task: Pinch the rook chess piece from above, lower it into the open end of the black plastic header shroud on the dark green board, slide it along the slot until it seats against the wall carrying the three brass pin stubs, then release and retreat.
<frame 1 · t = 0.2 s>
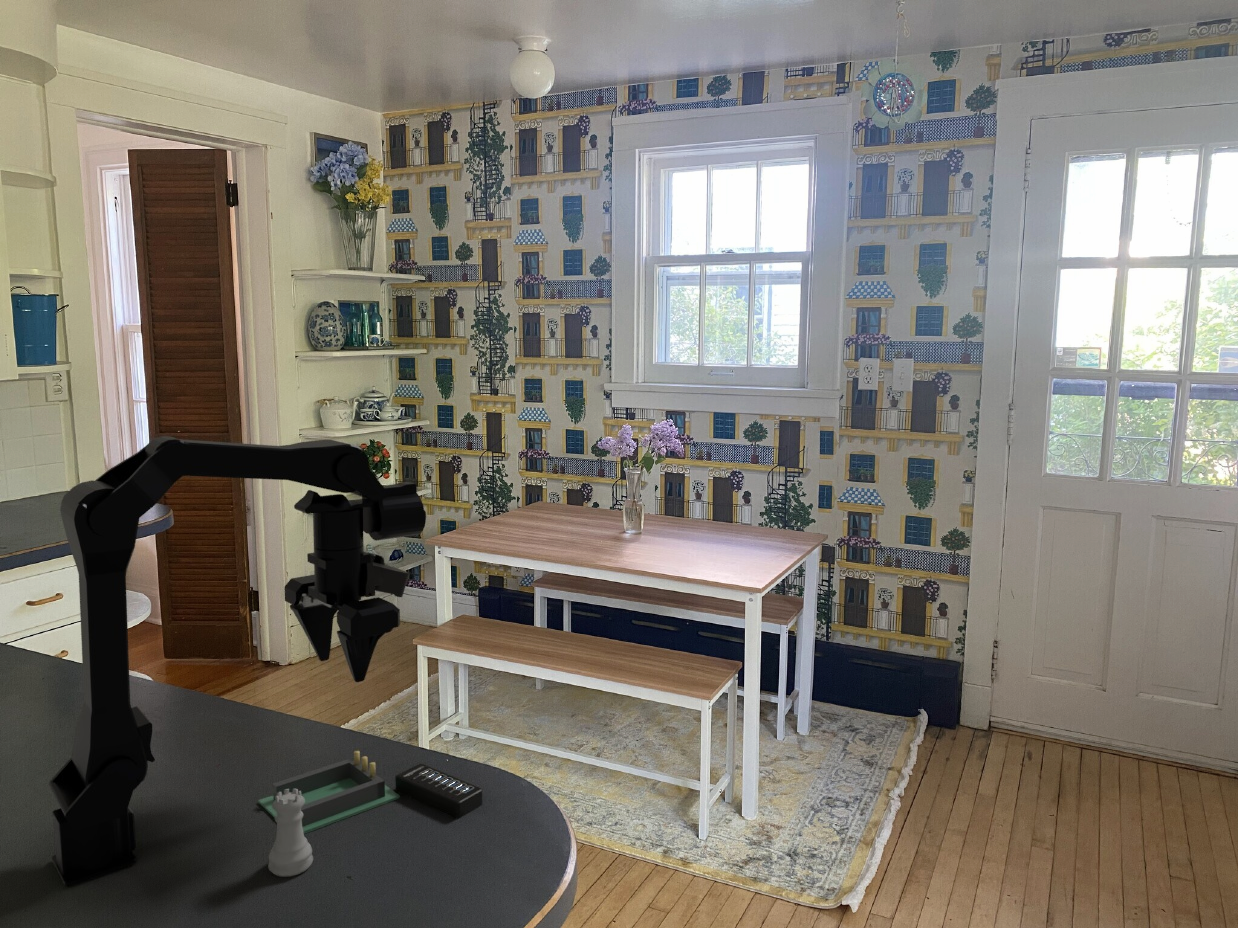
hand: (341, 670, 110), 14 cm above the kitchen counter, tool pointing down, fingers open, 9 cm apart
header socket: (329, 800, 108), on the kitchen counter
rook chess piece: (291, 867, 94), on the kitchen counter
multiport hub: (438, 801, 109), on the kitchen counter
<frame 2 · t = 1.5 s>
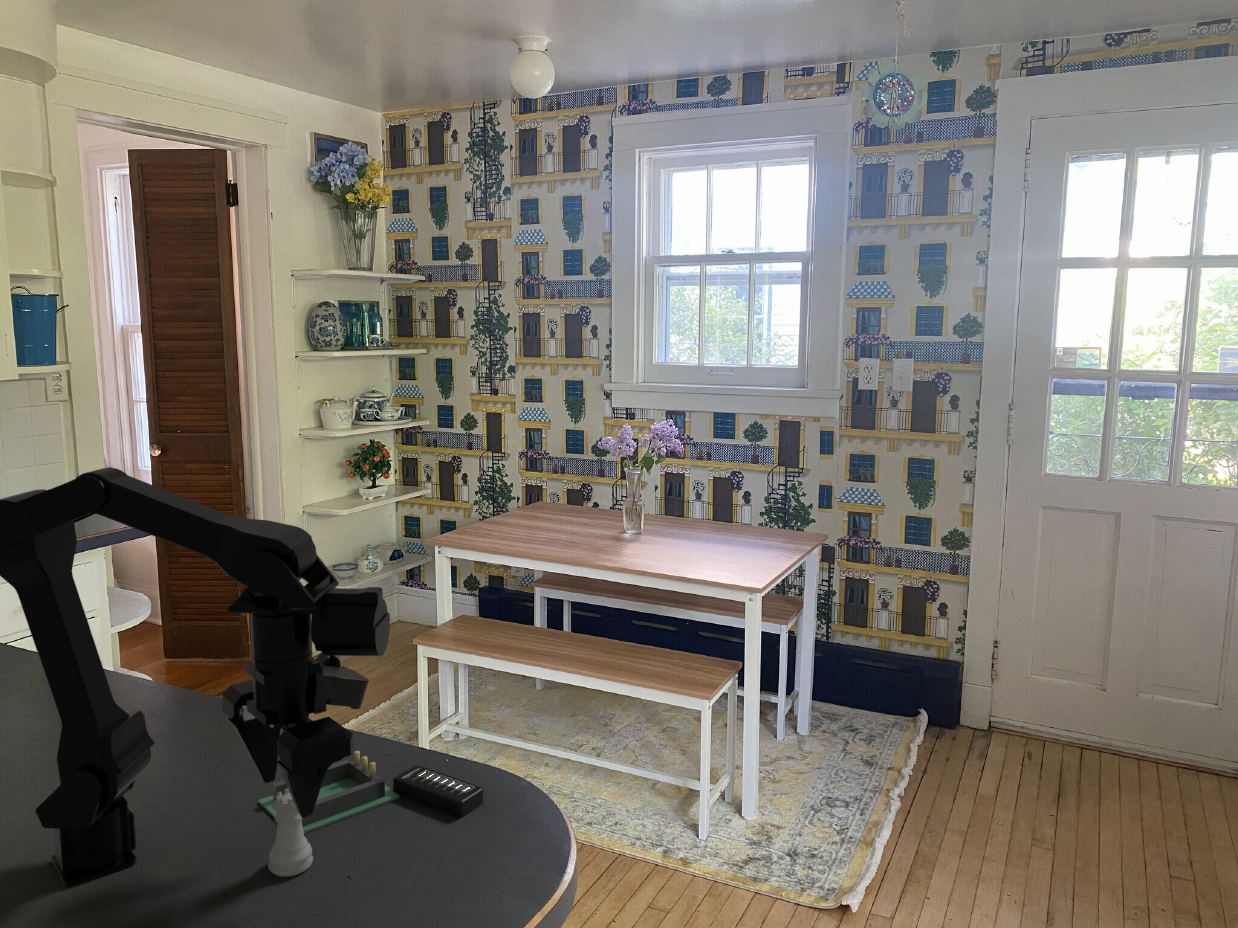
hand: (287, 797, 93), 8 cm above the kitchen counter, tool pointing down, fingers open, 9 cm apart
nothing on the kitchen counter moved.
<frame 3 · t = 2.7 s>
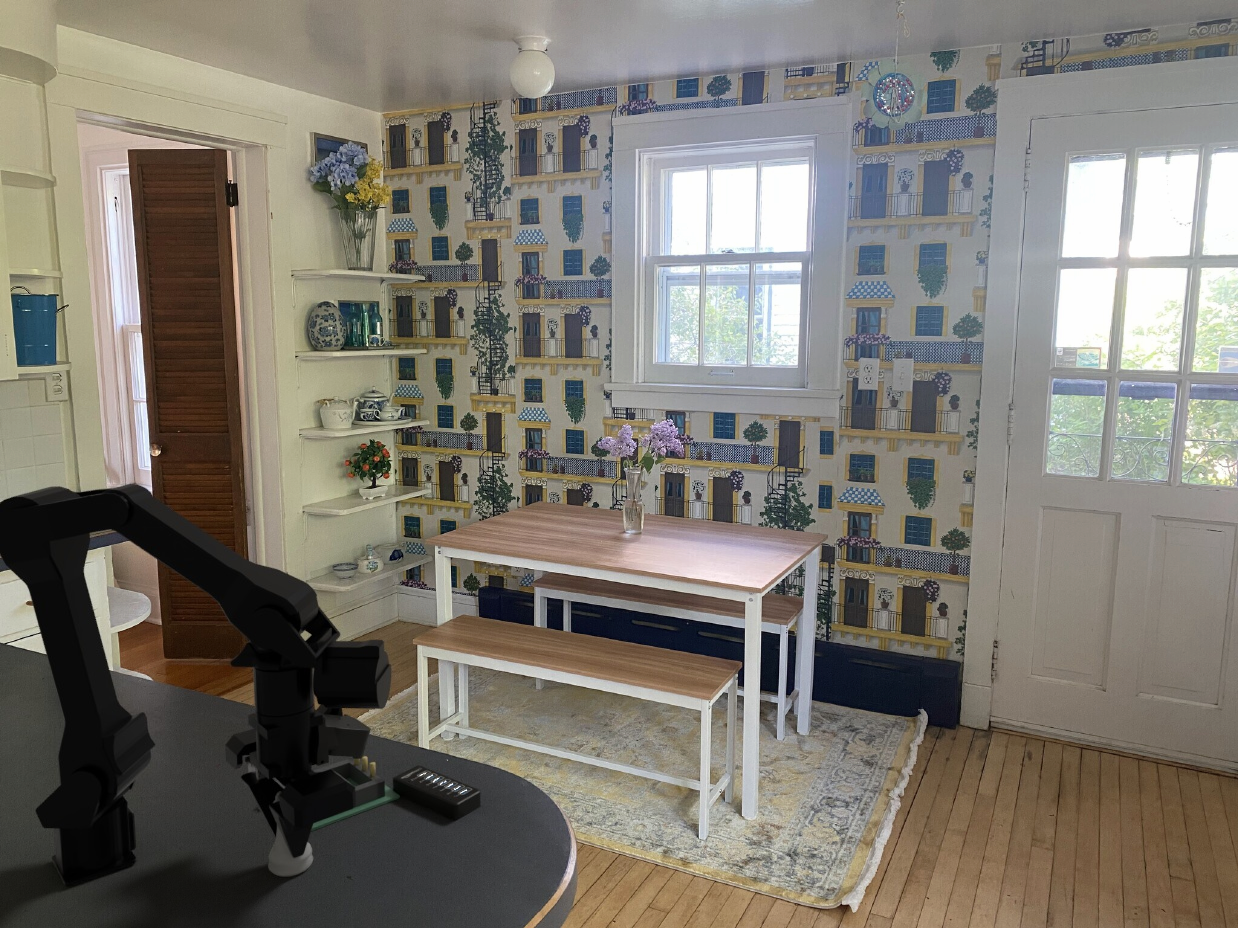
hand: (290, 847, 94), 2 cm above the kitchen counter, tool pointing down, fingers closed on rook chess piece, 3 cm apart
rook chess piece: (291, 867, 94), on the kitchen counter, touching gripper
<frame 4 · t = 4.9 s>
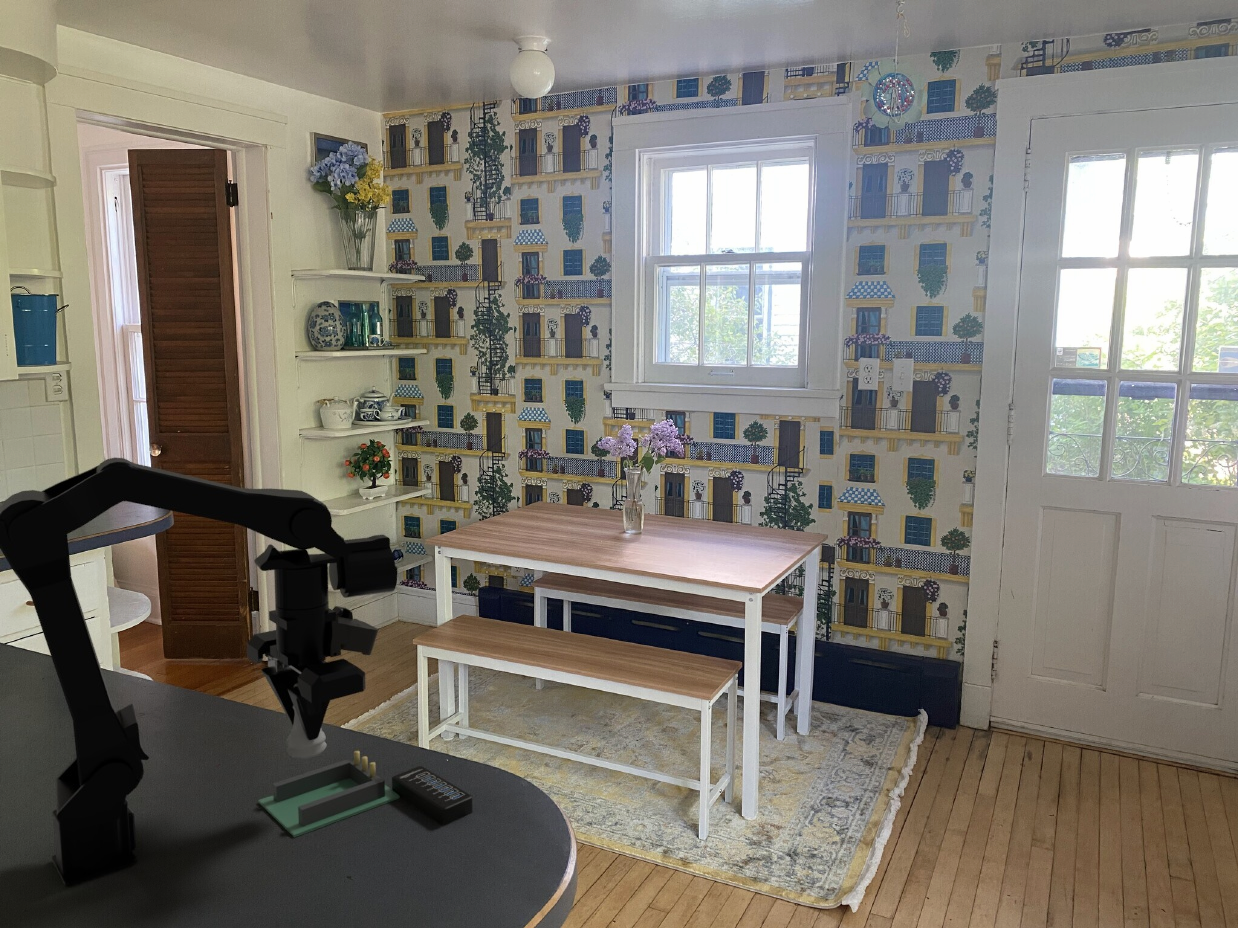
hand: (305, 733, 105), 9 cm above the kitchen counter, tool pointing down, fingers closed on rook chess piece, 3 cm apart
rook chess piece: (306, 752, 105), point 7 cm above the kitchen counter, touching gripper
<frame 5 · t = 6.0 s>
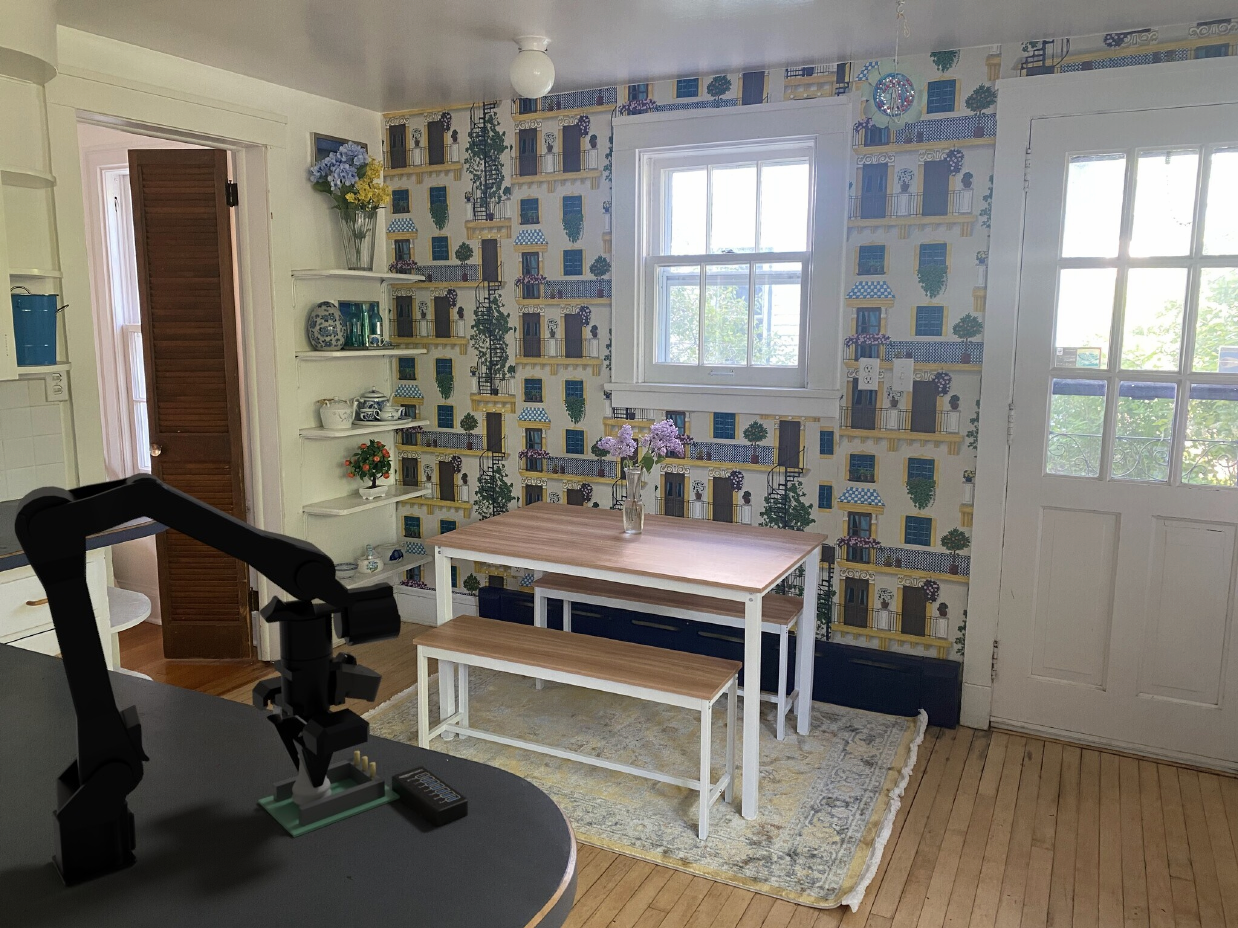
hand: (310, 780, 106), 3 cm above the kitchen counter, tool pointing down, fingers closed on rook chess piece, 3 cm apart
rook chess piece: (311, 799, 106), point 1 cm above the kitchen counter, touching gripper
when the fingers open (3 cm above the kitchen counter, at t = 7.0 s): rook chess piece stays where it is, resting on header socket.
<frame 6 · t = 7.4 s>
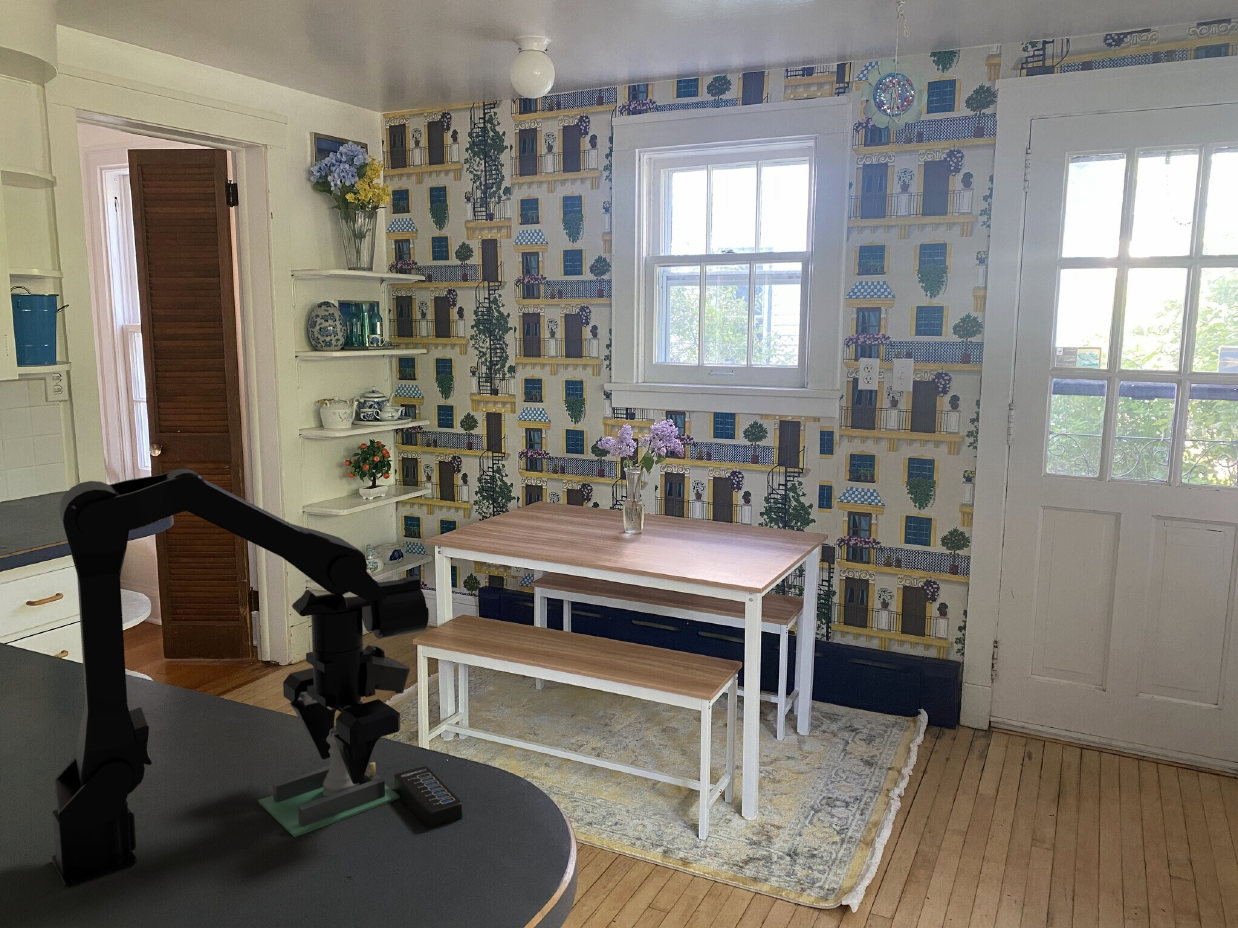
hand: (341, 769, 108), 3 cm above the kitchen counter, tool pointing down, fingers open, 8 cm apart
rook chess piece: (341, 794, 109), resting on header socket
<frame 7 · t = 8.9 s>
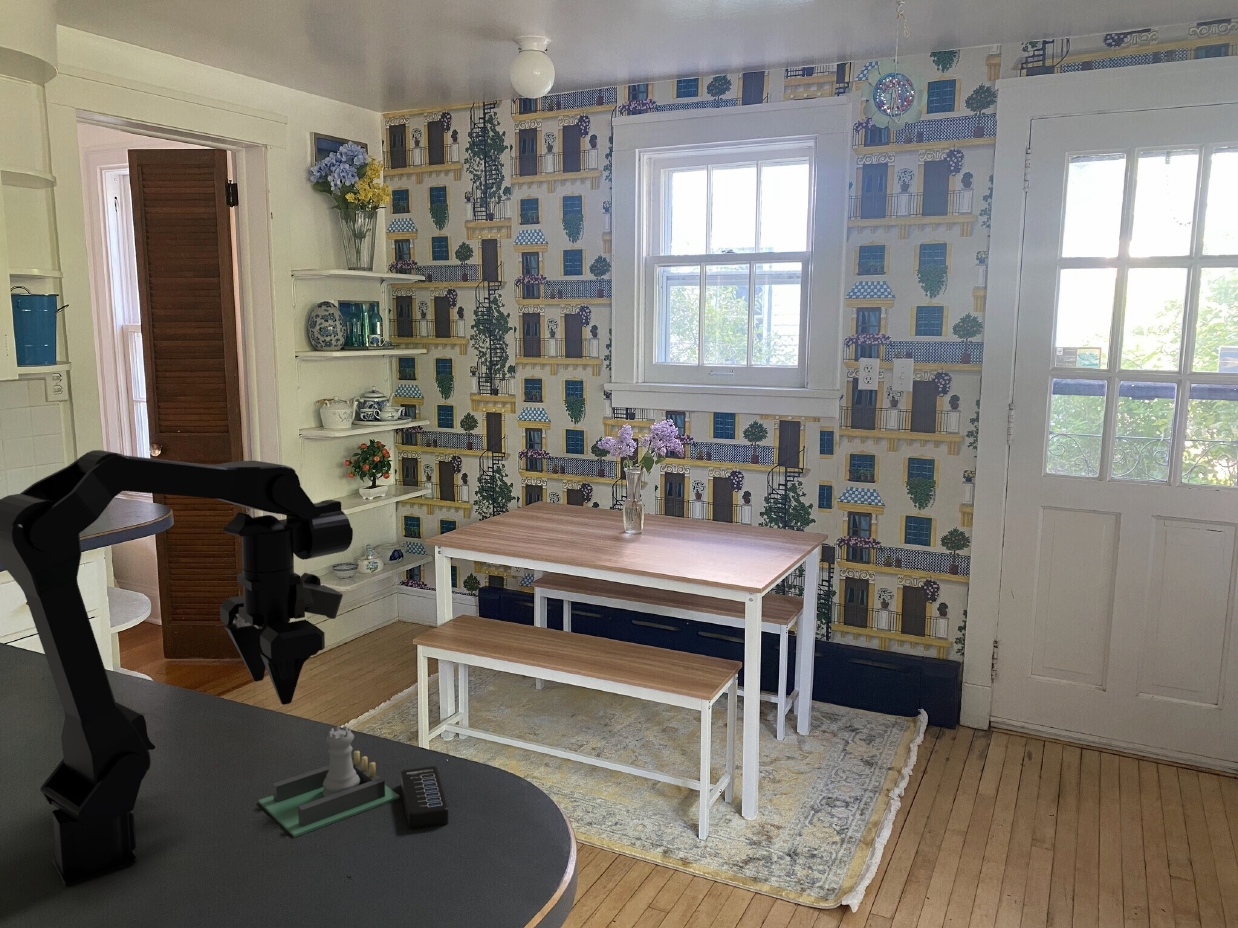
hand: (272, 691, 110), 12 cm above the kitchen counter, tool pointing down, fingers open, 9 cm apart
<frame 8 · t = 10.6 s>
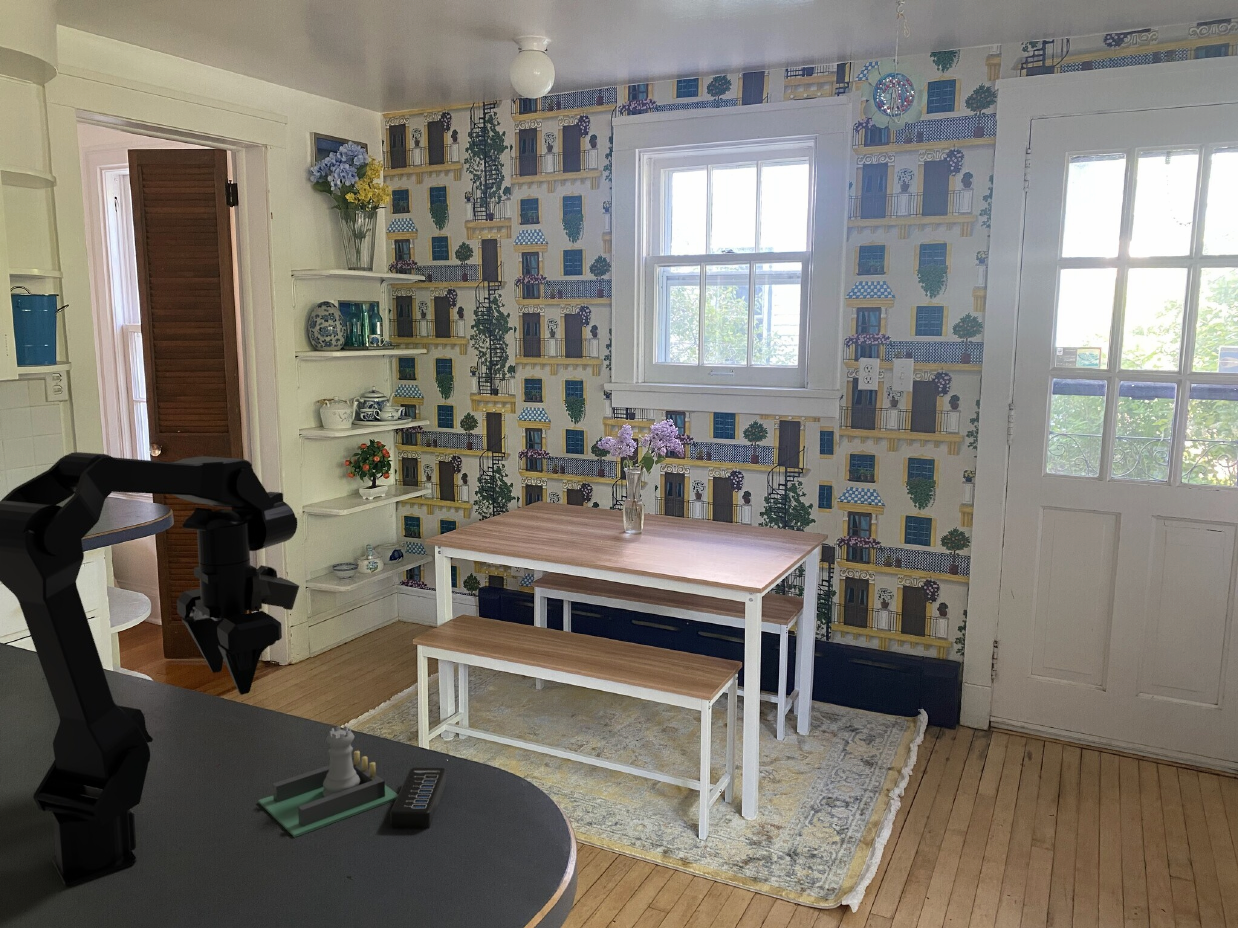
hand: (230, 682, 112), 12 cm above the kitchen counter, tool pointing down, fingers open, 9 cm apart
at the end: rook chess piece 0.3 cm from the target spot on the header socket, point 0.1 cm above the header socket's base; rook chess piece tilted 0°; the gripper is holding nothing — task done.
